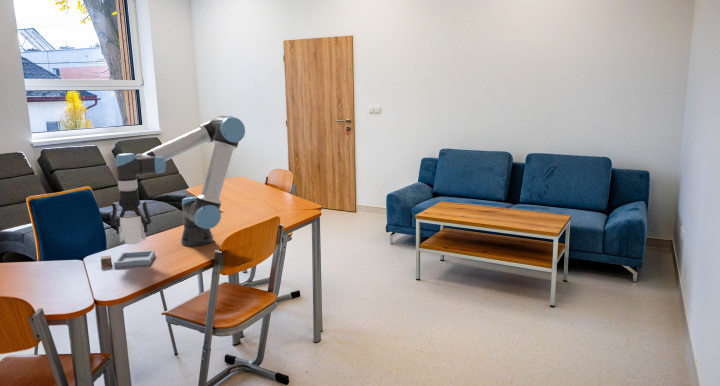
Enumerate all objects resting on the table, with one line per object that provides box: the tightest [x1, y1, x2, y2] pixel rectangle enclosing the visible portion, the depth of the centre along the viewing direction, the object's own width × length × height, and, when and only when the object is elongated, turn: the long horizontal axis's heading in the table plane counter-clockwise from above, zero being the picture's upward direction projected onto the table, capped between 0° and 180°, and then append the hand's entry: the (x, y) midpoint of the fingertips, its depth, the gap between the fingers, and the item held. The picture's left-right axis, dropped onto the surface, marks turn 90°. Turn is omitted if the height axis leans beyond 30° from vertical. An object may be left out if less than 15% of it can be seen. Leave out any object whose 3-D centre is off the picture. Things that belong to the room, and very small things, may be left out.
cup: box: [120, 212, 143, 245], centre depth 217 cm, size 9×9×12 cm
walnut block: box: [100, 255, 113, 269], centre depth 215 cm, size 4×4×4 cm
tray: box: [113, 249, 156, 269], centre depth 220 cm, size 14×14×2 cm
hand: (133, 240), depth 218 cm, fingers closed on cup, 9 cm apart
